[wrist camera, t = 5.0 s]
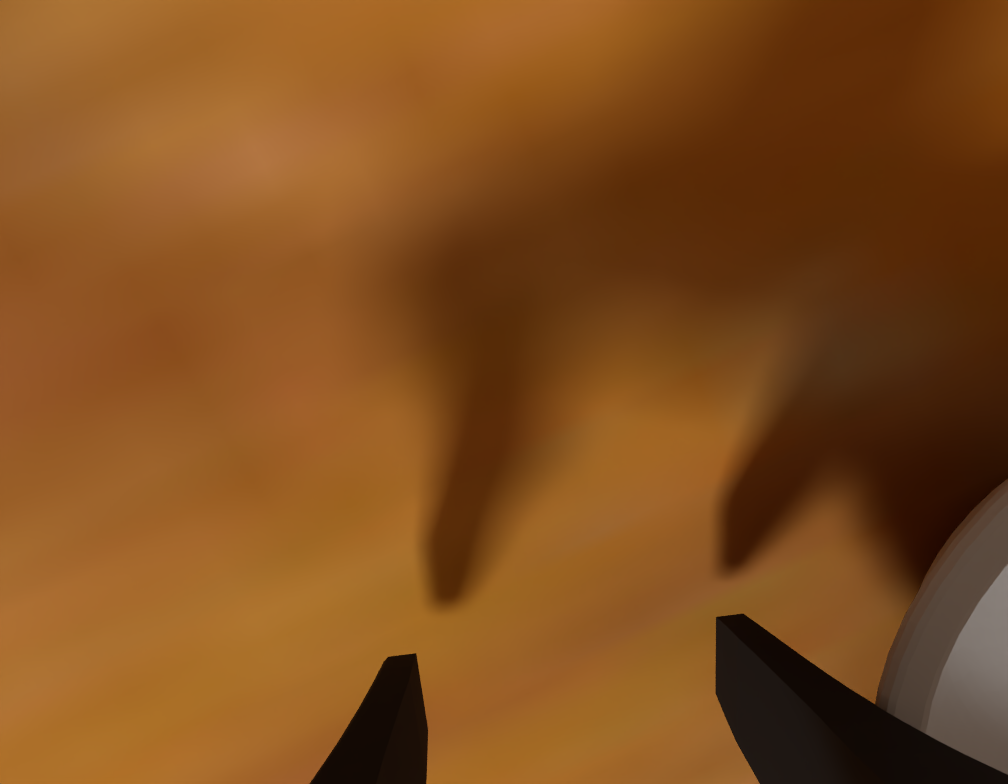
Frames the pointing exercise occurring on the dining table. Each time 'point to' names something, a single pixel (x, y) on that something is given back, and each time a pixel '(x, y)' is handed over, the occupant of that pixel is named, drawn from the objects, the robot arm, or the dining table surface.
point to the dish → (958, 642)
